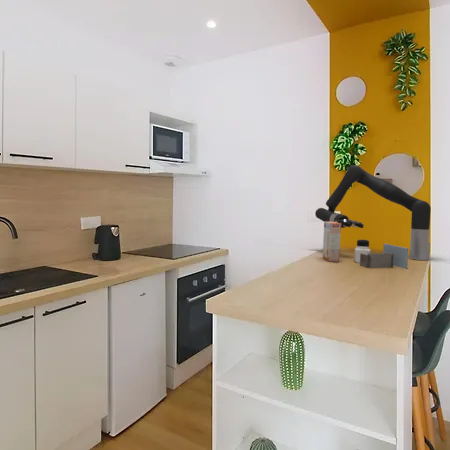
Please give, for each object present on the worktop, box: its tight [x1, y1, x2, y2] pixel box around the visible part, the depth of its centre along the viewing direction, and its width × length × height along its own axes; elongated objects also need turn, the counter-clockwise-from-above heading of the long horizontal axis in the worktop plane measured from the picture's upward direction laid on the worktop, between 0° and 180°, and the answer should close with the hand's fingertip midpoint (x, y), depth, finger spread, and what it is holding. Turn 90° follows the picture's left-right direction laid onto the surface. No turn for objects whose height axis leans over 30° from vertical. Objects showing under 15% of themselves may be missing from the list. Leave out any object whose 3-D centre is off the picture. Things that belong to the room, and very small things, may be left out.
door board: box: [382, 243, 409, 270], centre depth 193 cm, size 1×18×10 cm, turn 11°
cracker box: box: [322, 221, 342, 263], centre depth 206 cm, size 14×6×21 cm, turn 179°
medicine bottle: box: [353, 239, 372, 264], centre depth 202 cm, size 7×7×12 cm
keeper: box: [359, 252, 394, 269], centre depth 189 cm, size 13×8×7 cm, turn 101°
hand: (356, 225), depth 208 cm, fingers open, 8 cm apart
